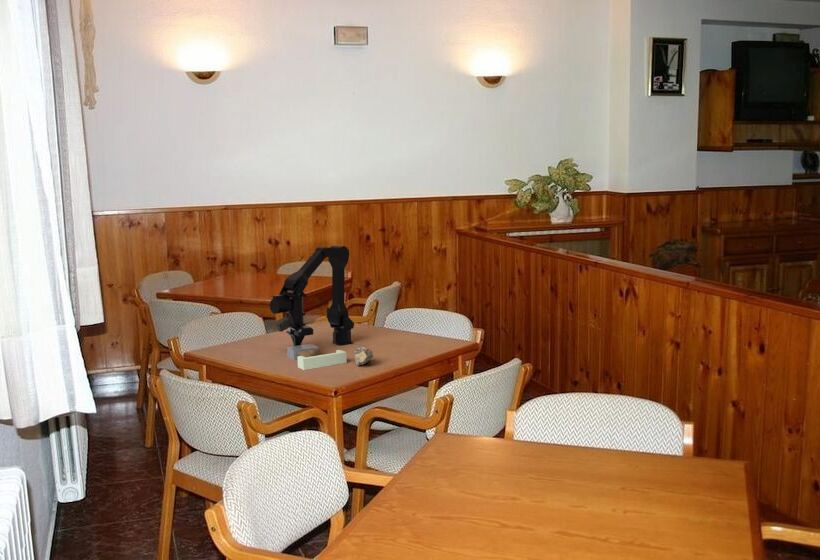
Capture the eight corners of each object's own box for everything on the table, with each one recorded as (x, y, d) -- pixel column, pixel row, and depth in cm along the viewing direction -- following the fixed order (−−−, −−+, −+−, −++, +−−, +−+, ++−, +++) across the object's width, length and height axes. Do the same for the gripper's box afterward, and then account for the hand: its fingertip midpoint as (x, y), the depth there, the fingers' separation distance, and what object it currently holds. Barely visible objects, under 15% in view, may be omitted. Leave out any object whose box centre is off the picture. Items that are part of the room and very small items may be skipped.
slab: (311, 353, 322) (311, 343, 322) (318, 357, 316) (318, 347, 316) (287, 357, 317) (286, 347, 317) (294, 360, 311) (293, 350, 311)
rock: (362, 353, 295) (380, 343, 302) (339, 349, 302) (357, 339, 310) (365, 371, 297) (383, 361, 304) (342, 367, 304) (360, 357, 311)
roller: (318, 347, 313) (321, 355, 312) (315, 351, 316) (318, 359, 315) (299, 350, 309) (302, 358, 308) (296, 354, 312) (299, 363, 310)
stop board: (340, 360, 310) (339, 349, 309) (346, 362, 305) (346, 352, 305) (297, 367, 300) (297, 356, 300) (303, 370, 296) (303, 359, 296)
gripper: (266, 308, 322) (267, 348, 324) (285, 316, 306) (287, 357, 308) (292, 305, 328) (294, 344, 330) (313, 312, 312) (314, 353, 314)
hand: (296, 349), depth 320 cm, fingers closed
